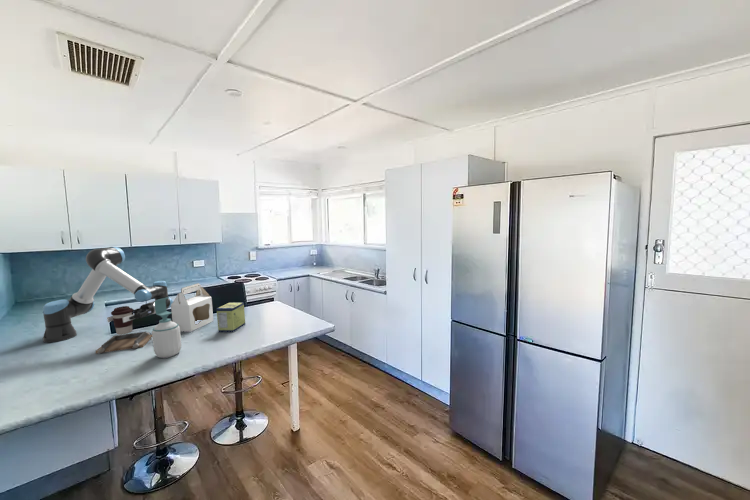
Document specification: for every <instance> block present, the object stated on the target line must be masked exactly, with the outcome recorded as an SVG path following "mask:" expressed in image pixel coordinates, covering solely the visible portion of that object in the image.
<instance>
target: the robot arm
mask: <svg viewBox="0 0 750 500" xmlns="http://www.w3.org/2000/svg"><path fill="white" fill-rule="evenodd" d="M125 260H126V255H125V252H124V250H123V249H121V248H120V247H119V246H118V247H117V246H109V247H101V248H94V249H92V250H90V251H89V252H88V253H87V254H86V256H85V262H86V264H87V265H88V267H89V268H90V269H91V270H90V272H89V273H88V276H87V277H86V278H85V280H84V281H83V283H82V284H81V286H80V288H79V290H78V291H77V292H74V293H73V294H71V295H72V296H70V297H69V298H70V299H57V300H52V301H50V302H47V303H45V304H44V305H43V306H42V314H43V319H44V320H43V321H44V327H45V329H44V333H43V335H42V341H43V342H44V343H55V342H57V343H58V342H60V341H66V340H69V339H71V338H74V337H77V335H78V334H77V330H76V328H75V327H74V326H73V323H72V319H73V318H77V317H78V316H82V315H86V314H87V313H89V312H91V311H92V310H93V309H94V307H95V299H94V296H95V295H96V293H97V292H98V290H99V289H100V287H101V285H102V283H103V282H104V281H105V279H106V278H108V279H110V280H112V281H113V282H115V283H116V284H117V285H120V287H122V288H123V289H125V290H127V291H129V292H130V293H132V294H133V295H134V299H135V300H136V302H138V303H144V302H147V303H145V304H141V305H140V306H139V308H136V309H134V308H132V309H133V311H132V315H130V316H127V317H124V318H122V319H123V323H124V322H127V321H130V320H135V319H136V320H138V319H142V318H145V317H148V316H151V315H155V314H156V311H155V301H156V300H158V299H162V298H166V297H169V292H168V285H167V282H166V281H165V280H158V281H157V280H156V281H154V282H152V286H149V287H148V286H147V285H145V284H143V283H142V282H140V281H139V280H138V279H136V278H135V277H133V276H131V275H130V274H128V273H127V272H125V271H124V270H122V269H121V268H120V267H118V265H120V264H122V263H123V262H125ZM153 299H154V300H153ZM150 300H153V301H150ZM148 301H150V302H148ZM173 301H174V300H173V298H171V297H169V298H168V299H166V310H168V309H170V308H171V304H172V303H173ZM106 318H107V319H106V322H107V323H110V322H114V321H113V315H111V316H108V317H106Z"/></svg>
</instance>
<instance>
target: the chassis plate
mask: <svg viewBox="0 0 750 500" xmlns="http://www.w3.org/2000/svg"><path fill="white" fill-rule="evenodd" d="M151 337H152V334H150V332H149V331H148V332H147V331H139V332H130V333H127V334H122V335H118V334H115V335H112V337H110V338H109V339H108V340H107V341H105V342H104V343H103V344H101V346H99V348H98V349H96V350H95V354H103V353H109V352H110V353H111V352H116V351H125V350H129V349H131V350H132V349H139V348H143V347H145V346H146V344H148V342H149V341H150V340H151V339H152V338H151Z"/></svg>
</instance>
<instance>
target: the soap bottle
mask: <svg viewBox="0 0 750 500" xmlns="http://www.w3.org/2000/svg"><path fill="white" fill-rule="evenodd" d="M168 298H170V296H168V297H166V298H162V299H158V300H156V301H155V300H154V301H155V311H156V313H155V314H156V315H157V316H159V317H160V318H162V319H159V321H158V322H159V323H158V324H156V325H155V326H154V327H153V328H152V331H151V335H152V338H151V339H152V344H153V345H152V346H153V353H154V354H155V356H156V358H160V359H167V358H171V357H174V356H177V354H179V353H180V352H181V349H182V339H181V338H182V337H181V331H180V327H179V326H178V324H177V323H175V322H173V321H172V318H168V317H169V315H172V311H168V309H166V299H168Z"/></svg>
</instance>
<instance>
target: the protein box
mask: <svg viewBox="0 0 750 500" xmlns="http://www.w3.org/2000/svg"><path fill="white" fill-rule="evenodd" d="M216 317H217V319H216V320H217V329H218V331H217V332H218V333H235V332H236V331H238V330H239V329H241V328H242V327H244V326H246V315H245V303H244V302H241V301H240V302H235V301H233V302H228V303H226V304H224V305H221V306H219V307H216Z"/></svg>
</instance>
